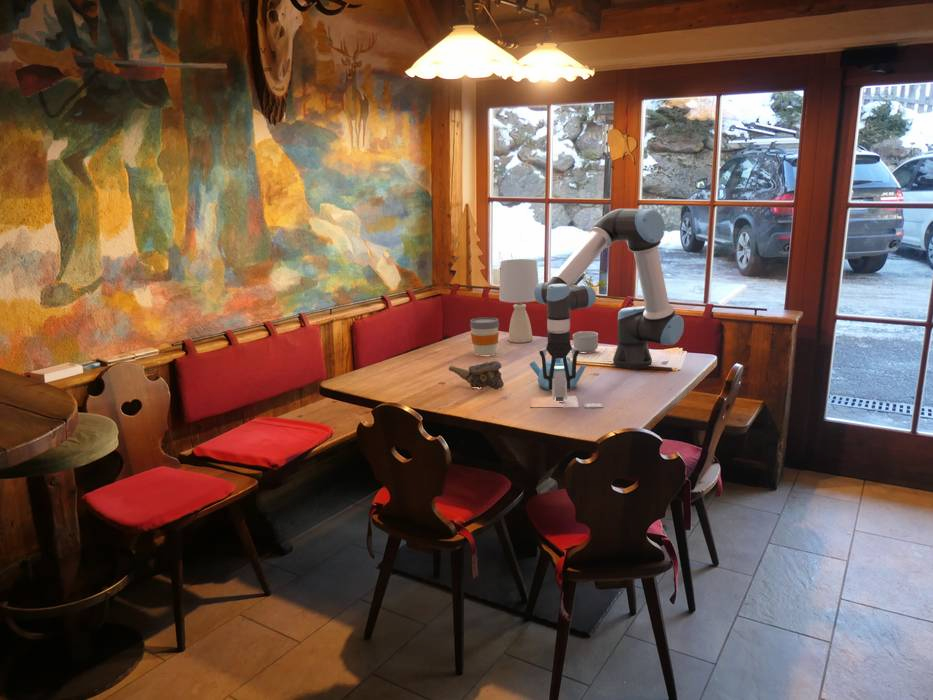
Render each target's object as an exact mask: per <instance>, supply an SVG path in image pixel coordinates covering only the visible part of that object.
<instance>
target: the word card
mask: <svg viewBox="0 0 933 700" xmlns="http://www.w3.org/2000/svg"><path fill="white" fill-rule="evenodd" d="M583 406H584V409H604V405H603V403H599V402H598V403H595V402H593V403H583Z"/></svg>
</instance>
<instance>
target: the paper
mask: <svg viewBox="0 0 933 700" xmlns="http://www.w3.org/2000/svg"><path fill="white" fill-rule="evenodd" d="M559 403H561V404H565V405H564V406H565V407H564V408H579V402H578V398H577V396H575V395H570V396H569V395H567V399H565V398H564V401H563V402H559Z"/></svg>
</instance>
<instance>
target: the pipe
mask: <svg viewBox="0 0 933 700" xmlns="http://www.w3.org/2000/svg"><path fill="white" fill-rule="evenodd" d="M501 368H502V363H501V362H500V361H498V360H492V361H487V362H484V363H480V364H478V363H477V364H475V365H471V366H468V369H464V368H461V367H456V366H453V365H450V366H449V367H448V371H450V372H453V373H454V374H457V375H458V376H459V377H460V378H461V379H462V380H464V381H466V382H467V383H468V384H469V385H470V386H471V387H479V388H480V387H482V388H487V386H488V387H489V388H490V389H492V388H494V389H493V390H500V389H501V388H503V387H504V381H503V378H502V373H501V372H500V371H499V370H500V369H501ZM471 387H470V388H471ZM499 388H500V389H499Z"/></svg>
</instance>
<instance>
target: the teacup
mask: <svg viewBox="0 0 933 700" xmlns="http://www.w3.org/2000/svg"><path fill="white" fill-rule="evenodd" d="M572 343H573V348H575V349H576V348H577V349H578V350H579V352H591V353H593V352H595V350H597V349H598V346H599V333H598V332H596V331H587V330H586V331H582V330H581V331H577V332H575V333H573V334H572Z"/></svg>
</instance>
